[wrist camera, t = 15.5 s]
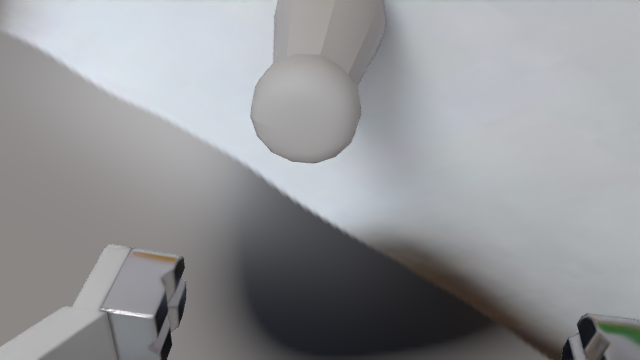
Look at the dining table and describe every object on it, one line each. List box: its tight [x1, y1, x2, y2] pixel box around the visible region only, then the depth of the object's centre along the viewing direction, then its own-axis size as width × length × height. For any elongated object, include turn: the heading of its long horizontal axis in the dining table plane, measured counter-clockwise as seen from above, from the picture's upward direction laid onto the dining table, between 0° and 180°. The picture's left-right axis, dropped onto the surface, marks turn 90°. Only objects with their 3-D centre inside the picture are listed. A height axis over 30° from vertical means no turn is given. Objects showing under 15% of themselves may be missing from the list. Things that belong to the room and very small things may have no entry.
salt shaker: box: [250, 0, 386, 163], centre depth 27 cm, size 6×6×13 cm
